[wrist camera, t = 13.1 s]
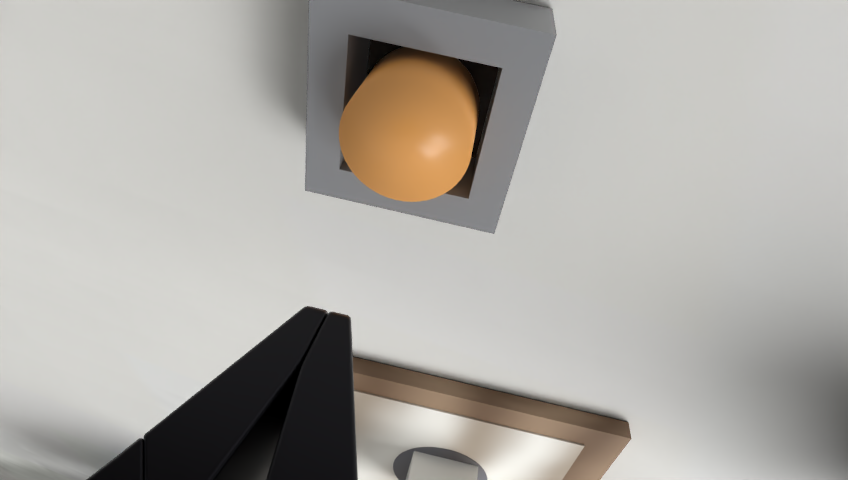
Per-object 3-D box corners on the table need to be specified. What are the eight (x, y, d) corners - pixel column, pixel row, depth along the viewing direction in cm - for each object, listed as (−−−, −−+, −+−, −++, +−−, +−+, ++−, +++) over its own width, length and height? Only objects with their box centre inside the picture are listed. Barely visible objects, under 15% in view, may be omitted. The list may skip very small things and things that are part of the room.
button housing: (552, 8, 16) (556, 34, 14) (497, 190, 21) (494, 233, 18) (340, -38, 17) (309, -19, 14) (330, 152, 21) (305, 190, 19)
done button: (492, 59, 16) (486, 94, 14) (466, 168, 19) (457, 213, 16) (370, 32, 16) (342, 63, 14) (359, 144, 19) (335, 185, 16)
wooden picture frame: (628, 422, 28) (631, 441, 27) (540, 541, 38) (541, 558, 37) (310, 346, 29) (303, 362, 28) (305, 483, 38) (300, 499, 38)
